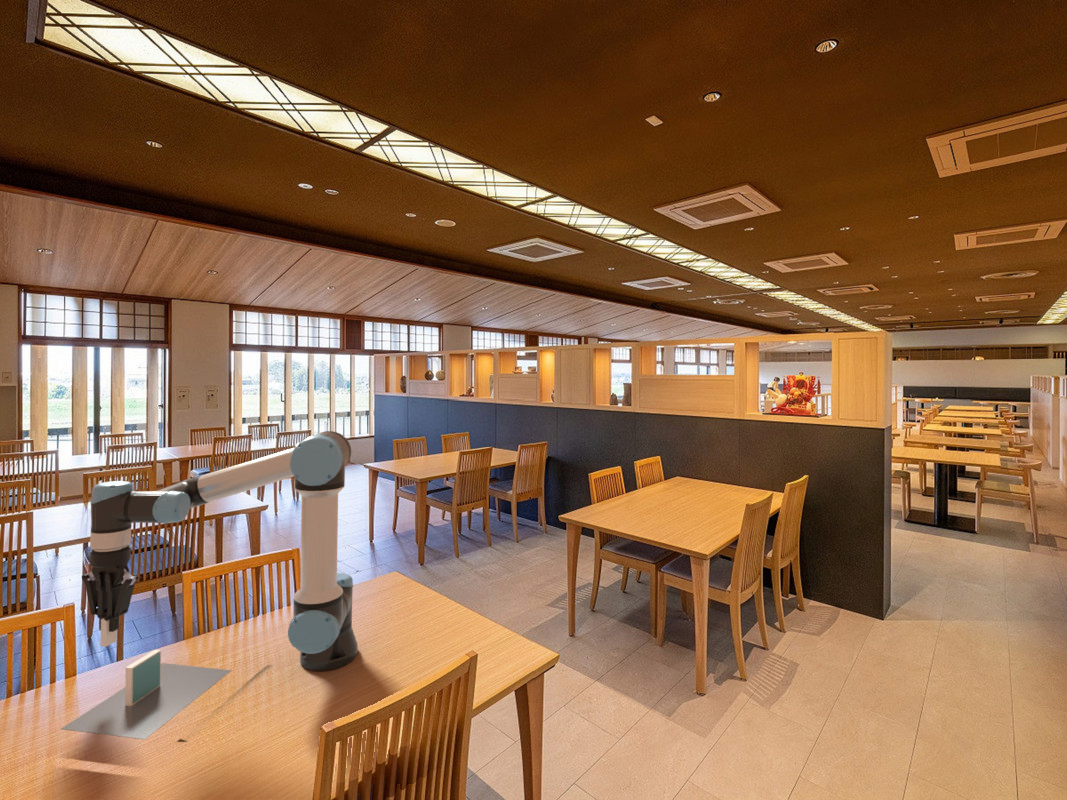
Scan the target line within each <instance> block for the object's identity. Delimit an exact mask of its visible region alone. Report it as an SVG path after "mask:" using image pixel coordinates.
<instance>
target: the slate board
mask: <svg viewBox="0 0 1067 800" xmlns="http://www.w3.org/2000/svg"><path fill="white" fill-rule="evenodd" d="M232 671H233V670H231V669H222V668H213V667H205V666H204V667H203V666H194V665H186V664H185V665H183V664H174V663H167V662H161V676H160V686H159V687H158V688H157V689H155V690H154V691H152V692H151V693H149V694H148V695H146V696H145V697H144V698H142V699H141V700H139V701H138V702H136V703H135V704H134V705H132V706H125V687H123V688H122V689H120V690H119V691H117V692H116V693H114V694H112V695H111V696H110V697H108V698H106V699H104V700H103V701H101V702H100V703H98V704H97V705H95V706H93V708H90V709H89V710H87V711H86V712H84V713H83V714H81V715H79V716H78V717H77V718H75V719H74V720H72V721H70V722H69V723H67V724H66V725H64V726H63V727H61V728H60V730H65V731H73V732H80V733H81V732H82V733H89V734H98V735H107V736H116V737H123V738H131V739H138V740H146V739H147V738H148V737H150V736H151V735H153V734H154V733H155V732H156V731H158V730H159V729H160V728H161V727H162V726H164V725H165V724H166V723H167V722H169V721H170V720H172V719H173V718H174V717H175V716H177V715H178V714H179V713H180V712H182V711H183V710H185V708H186V707H188V706H189V705H190V704H191V703H193V702H194V701H196V699H199V697H200V696H202V695H203V694H204V693H205V692H207V691H208V690H209V689H210V688H212V687H213V686H214V685H215V684H217V683H218V682H219V681H220V680H221V679H223V678H225V676H227V675H229V673H231V672H232Z"/></svg>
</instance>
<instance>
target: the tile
mask: <svg viewBox="0 0 1067 800" xmlns="http://www.w3.org/2000/svg"><path fill="white" fill-rule="evenodd" d="M161 657H162V650H161V649H154V650H152V651H150V652H149V653H147V654H145V655H144V656H142V657H141V658H139V659H137V660H136V661H135V662H132V663H131V664H129V665H127V666H126V667H125V687H124V688H125V706H132V705H134V704H135V703H136V702H138V701H139V700H141V699H142V698H144V697H145V696H146V695H148V694H149V693H151V692H152V691H154V690H155V689H157V688H158V687H159V686H160V676H161V664H162V658H161Z"/></svg>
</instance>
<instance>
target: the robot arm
mask: <svg viewBox="0 0 1067 800" xmlns="http://www.w3.org/2000/svg"><path fill="white" fill-rule="evenodd" d="M351 458H352V447H351V444H350V442H349V439H347V438H346V437H345V435H343V434H341V433H339V432H337V431H333V430H326V431H322V432H319V433H316V434H312V435H309V436H308V437H305V438H304V439H302V440H301V441H300V442H296V445H295V446H294V447H292V448H288V449H286V450H282V451H278V452H276V453H271V454H269V455H266V456H262V457H259V458H256V459H253V460H250V461H245V462H243V463H239V464H236V465H232V466H229V467H225V468H222V469H220V470H219V469H218V470H215V471H212V472H209V473H206V474H203V475H200V476H197V477H193V478H188V479H184V480H181V481H179V482H177V483H175V484H172V485H169V486H167V487H164V488H162V489H159V490H146V491H145V490H134V487H133V483H132V482H130V481H126V480H114V481H113V480H112V481H111V480H110V481H104V482H100V483H97V484H95V485H94V486H93V488H92V492H91V498H90V499H91V501H90V512H91V514H90V517H91V520H90V524H91V525H90V535H89V536H90V537H89V540H90V541H89V548H90V549H91V550H90V551H89V552H90V553H89V565H90V566H91V567H92V568H91V570H90V572H87V573H85V574H82V575H81V579H82V581H83V583H84V585H85V590H86V595H87V600H88V604H89V605H88V606H89V612H90V614H91V615H92V616H94V615H95V616H97V618H98V619H99V620H98V630H99V631H100V644H99V645H100V647H105V648H106V647H108V646H111V645H112V644H114V643H116V642H117V641H118V640H117V637H118V629H119V628H120V617H121V616H124V615H125V614H127V613H128V611H129V608H130V603H131V601H132V595H133V592H134V589H135V584H137V582H138V580H139V576H138V575H134V576H133V575H132V574H131V573H130V568H129V566H128V563H129V562H130V561H131V557H132V554H131V551H132V545H130V544H131V543H132V542H131V541H132V523H133V524H134V523H135V524H136V523H137V524H139V523H140V524H141V523H142V524H150V523H151V524H166V525H167V524H171V523H179V522H182V521H184V520H185V519H186V517H187V516H188V515H189V512H190V510H191V509H193V508H196V507H199V506H202V505H205V504H209V503H212V502H215V501H217V500H221V499H225V498H227V497H231V496H235V495H237V494H240V493H245V492H248V491H250V490H253V489H257V488H260V487H261V488H262V487H263V486H267V485H270V484H274V483H277V482H281V481H284V480H286V479H291V478H293V477H294V480H295V481H294V490H295V491H296V492H297V493H298V494H300V495H301V512H300V513H301V514H300V516H301V517H300V519H301V520H300V523H301V524H300V528H301V529H300V588H299V589H298V590H297V591H296V592H295V593H294V595H293V614H292V615H293V617H292V619H291V620H290V623H289V626H288V629H287V638H288V641H289V643H290V644H291V646H292V647H293V648H295V649H296V650H297V651H298V652H300V654H299V655H300V656H299V663H300V665H301V666H302V667H303V668H305V669H306V670H309V671H316V672H323V671H325V672H326V671H331V670H336V669H338V668H339V669H340V668H341V667H344V666H346V665H348V664H349V663H351V662H352V661H354V659H356V657H357V656H358V648H359V647H358V642H357V638H356V636H355V632H354V629H353V625H352V623H353V622H352V621H353V618H352V617H353V592H354V591H353V590H354V589H353V588H354V583H353V577H352V576H351V575H349V574H347V573H341V572H338V536H339V535H338V529H339V528H338V525H339V521H338V520H339V518H338V517H339V515H338V514H339V493H340V492H341V491H342V490H343V489H344V488H345V486H346V485H345V481H346V477H345V476H346V473H345V472H346V467H347V465H348V464H349V462H350V460H351Z"/></svg>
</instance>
